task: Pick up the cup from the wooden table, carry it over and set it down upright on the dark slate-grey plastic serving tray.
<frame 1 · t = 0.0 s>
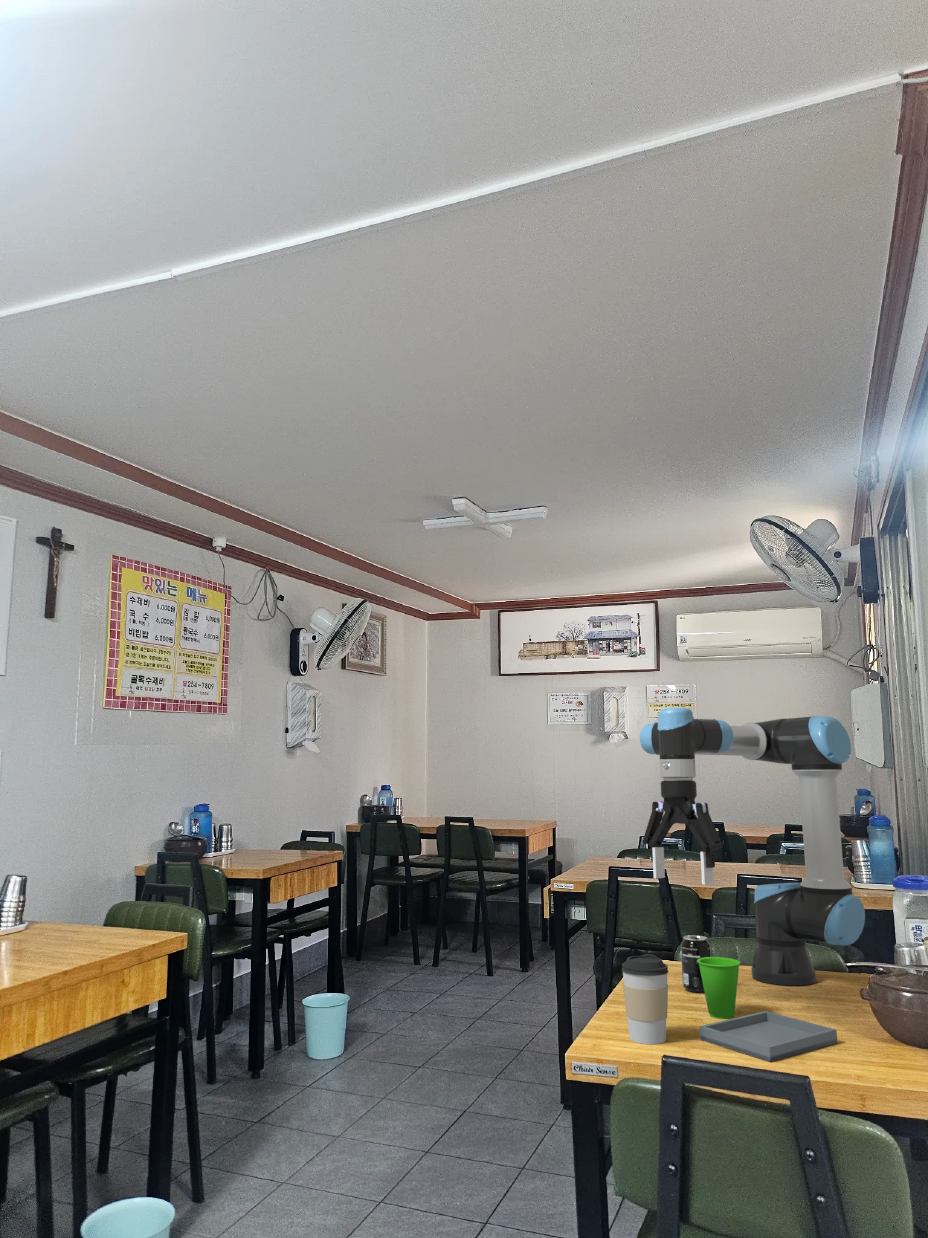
hand: (682, 881, 182), 28 cm above the table, fingers open, 13 cm apart
tray: (768, 1041, 163), on the table
cup: (721, 1017, 181), on the table
beverage can: (697, 991, 203), on the table
coffee cup: (647, 1040, 165), on the table
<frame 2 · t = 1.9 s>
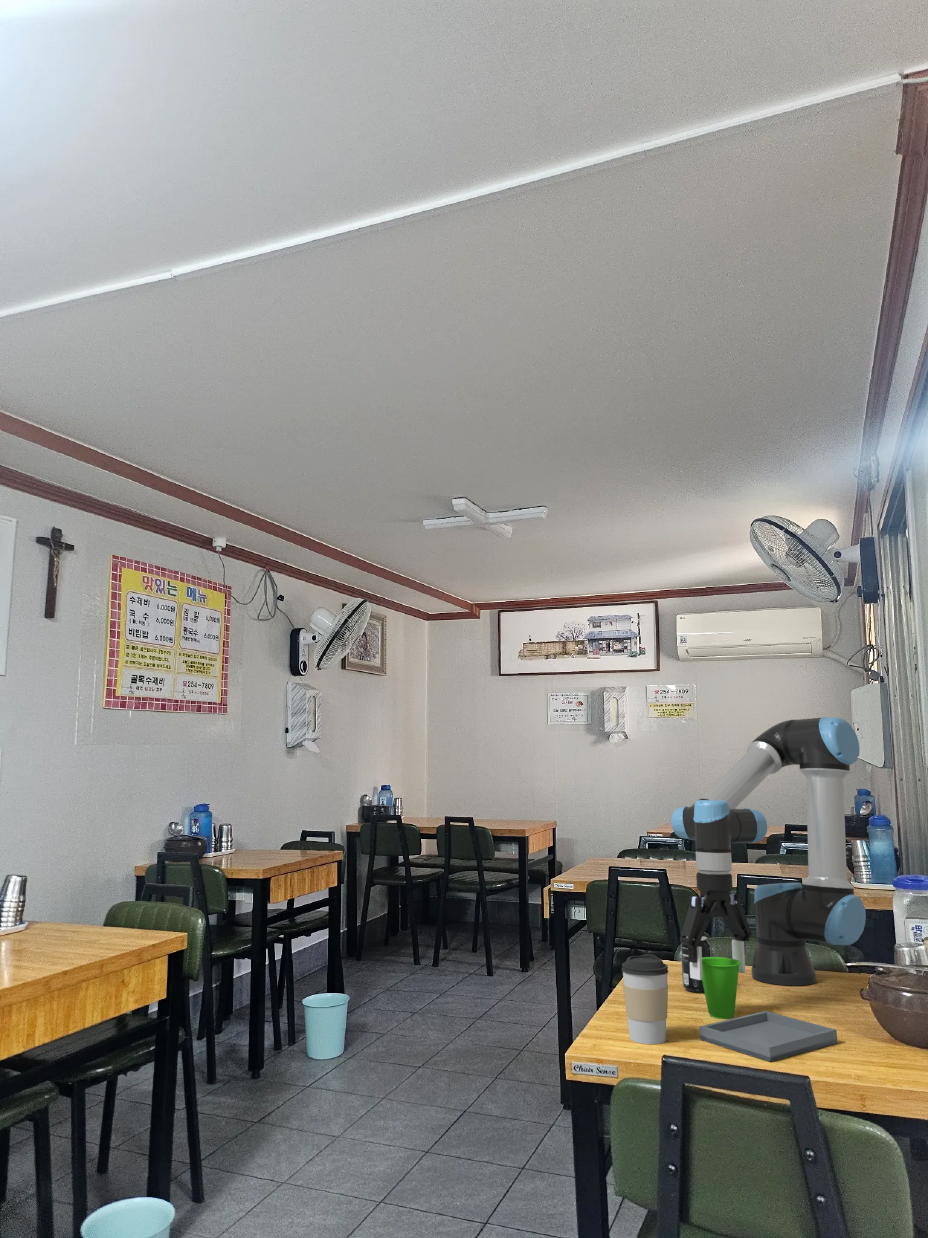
hand: (718, 975, 182), 8 cm above the table, fingers open, 13 cm apart
nothing on the table moved.
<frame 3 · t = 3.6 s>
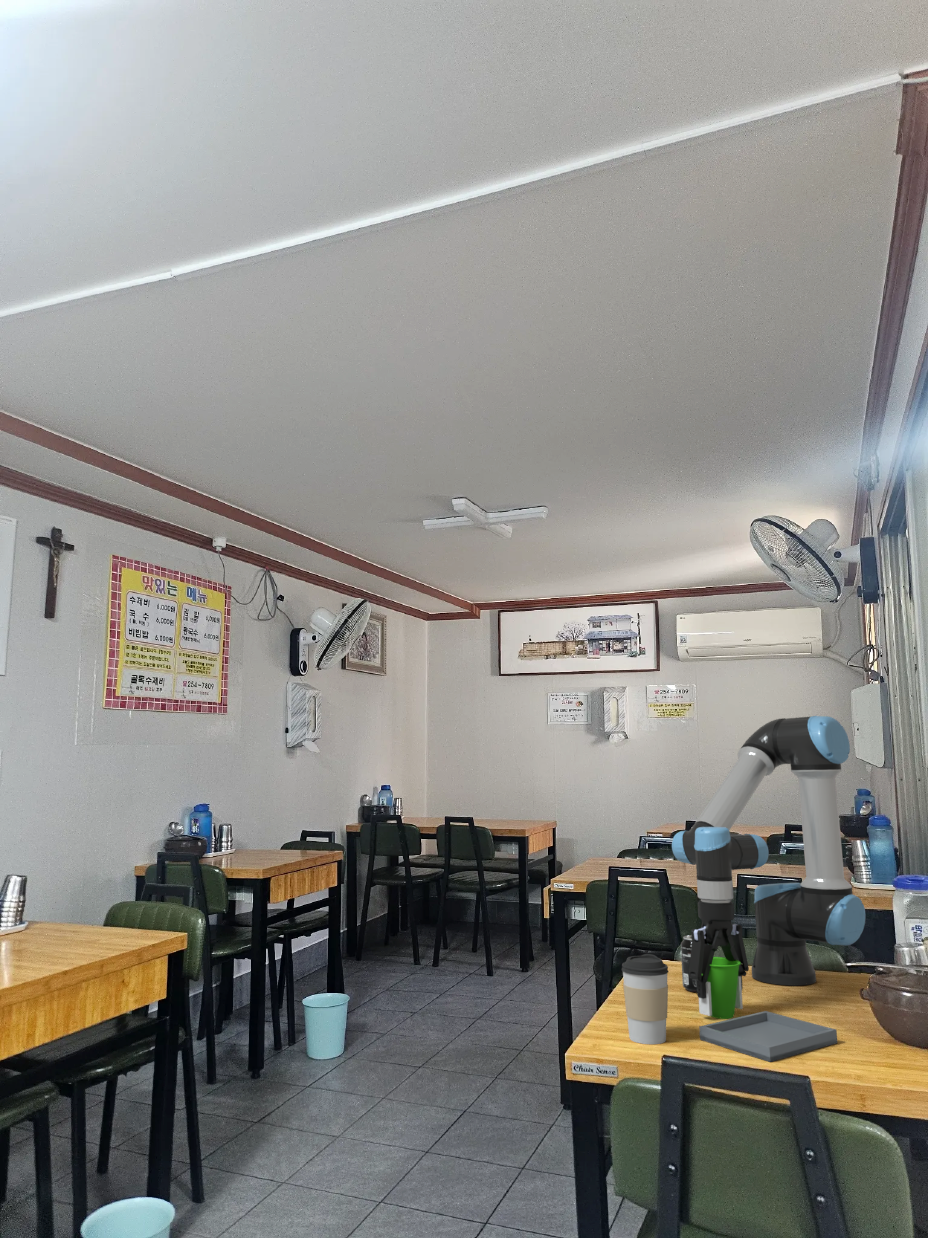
hand: (721, 1011, 181), 1 cm above the table, fingers closed on cup, 9 cm apart
cup: (721, 1017, 181), on the table, touching gripper
everything else where it was.
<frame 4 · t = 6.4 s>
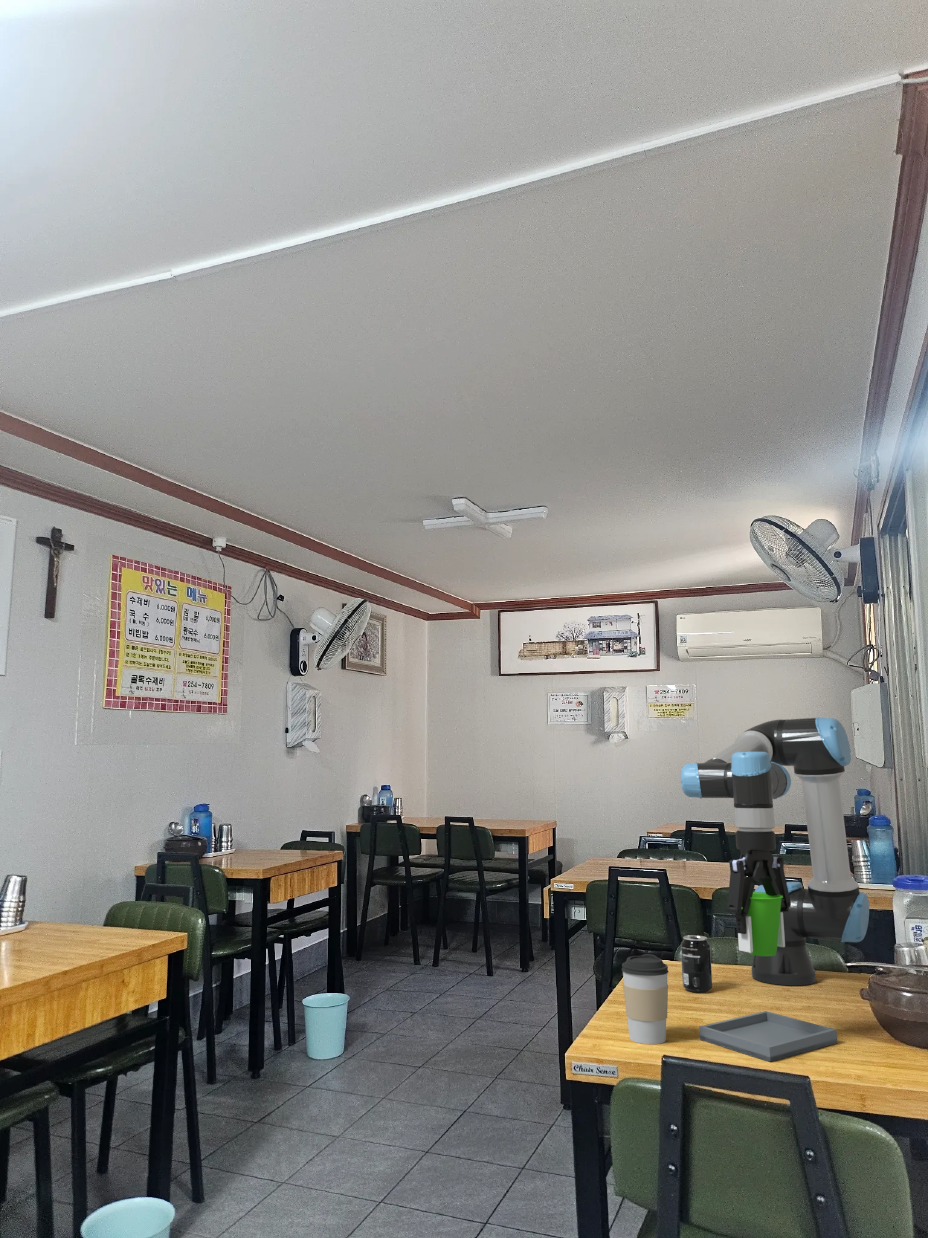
hand: (762, 948, 166), 17 cm above the table, fingers closed on cup, 9 cm apart
cup: (762, 955, 166), point 16 cm above the table, touching gripper
everything else where it was.
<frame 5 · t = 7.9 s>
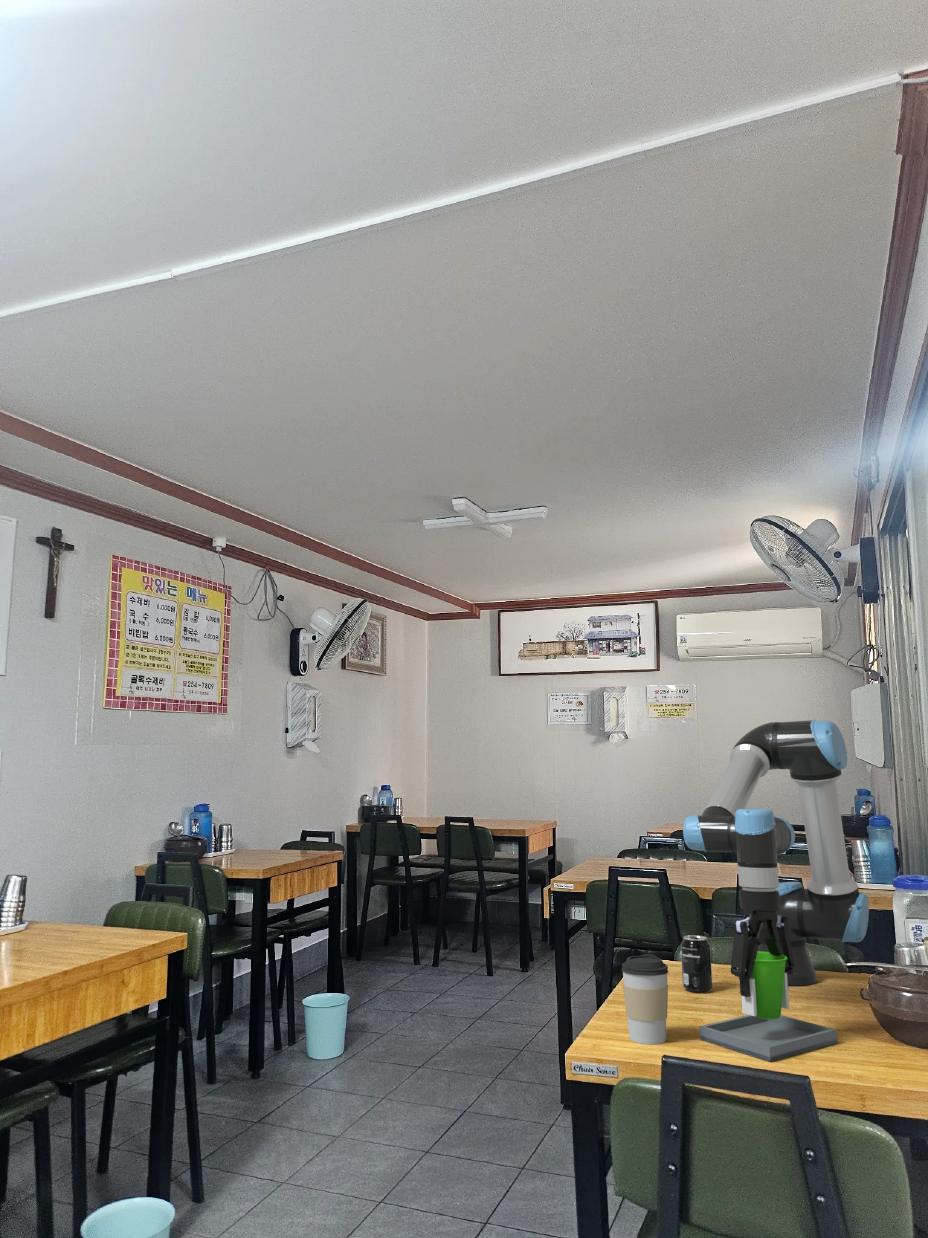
hand: (766, 1010, 164), 6 cm above the table, fingers closed on cup, 9 cm apart
cup: (766, 1017, 164), point 4 cm above the table, touching gripper
everything else where it was.
when the fingers open (3 cm above the table, at t = 9.3 s): cup drops 1 cm, resting on tray.
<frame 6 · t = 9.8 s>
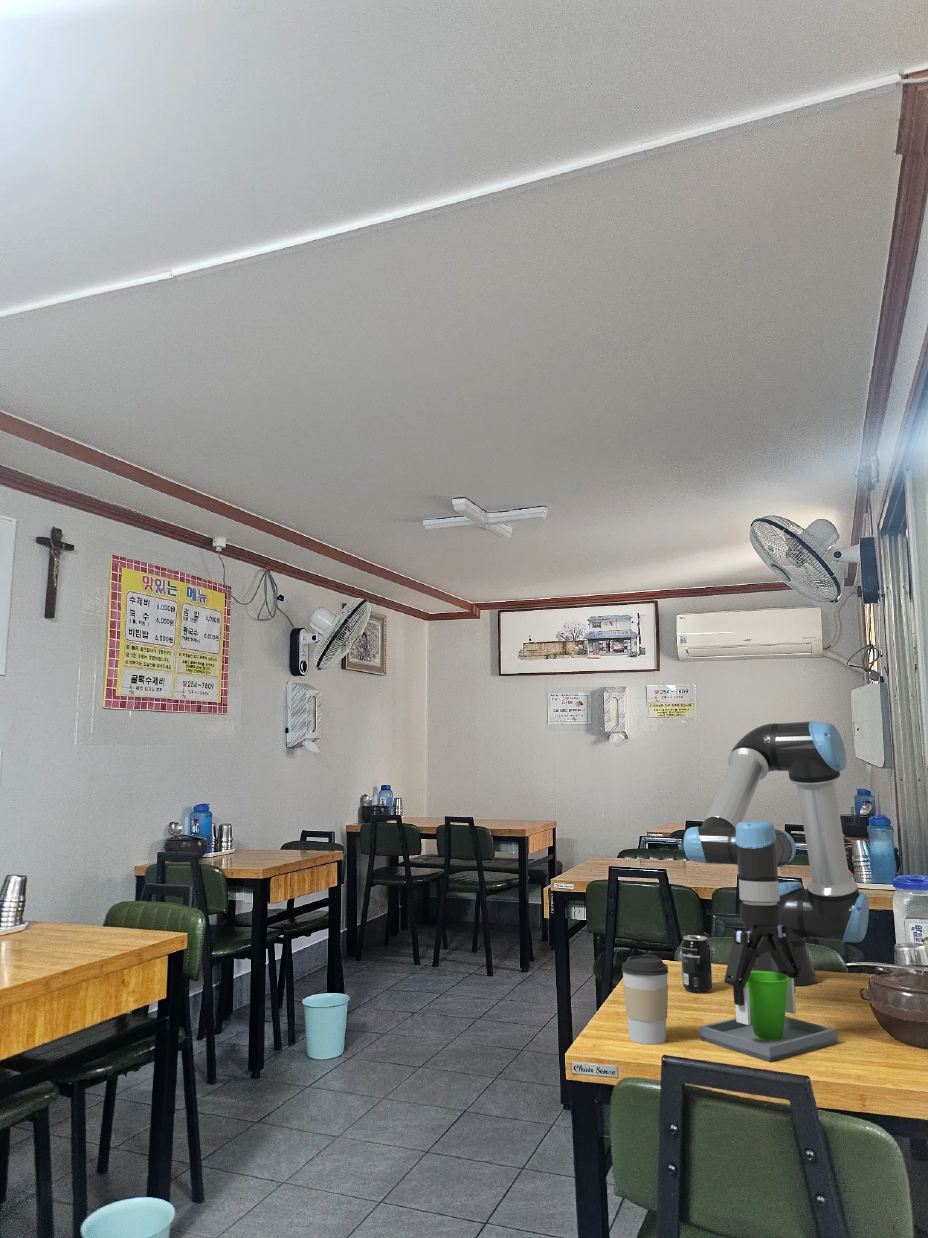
hand: (766, 1018, 164), 4 cm above the table, fingers open, 13 cm apart
cup: (768, 1037, 164), point 1 cm above the table, touching tray
everything else where it was.
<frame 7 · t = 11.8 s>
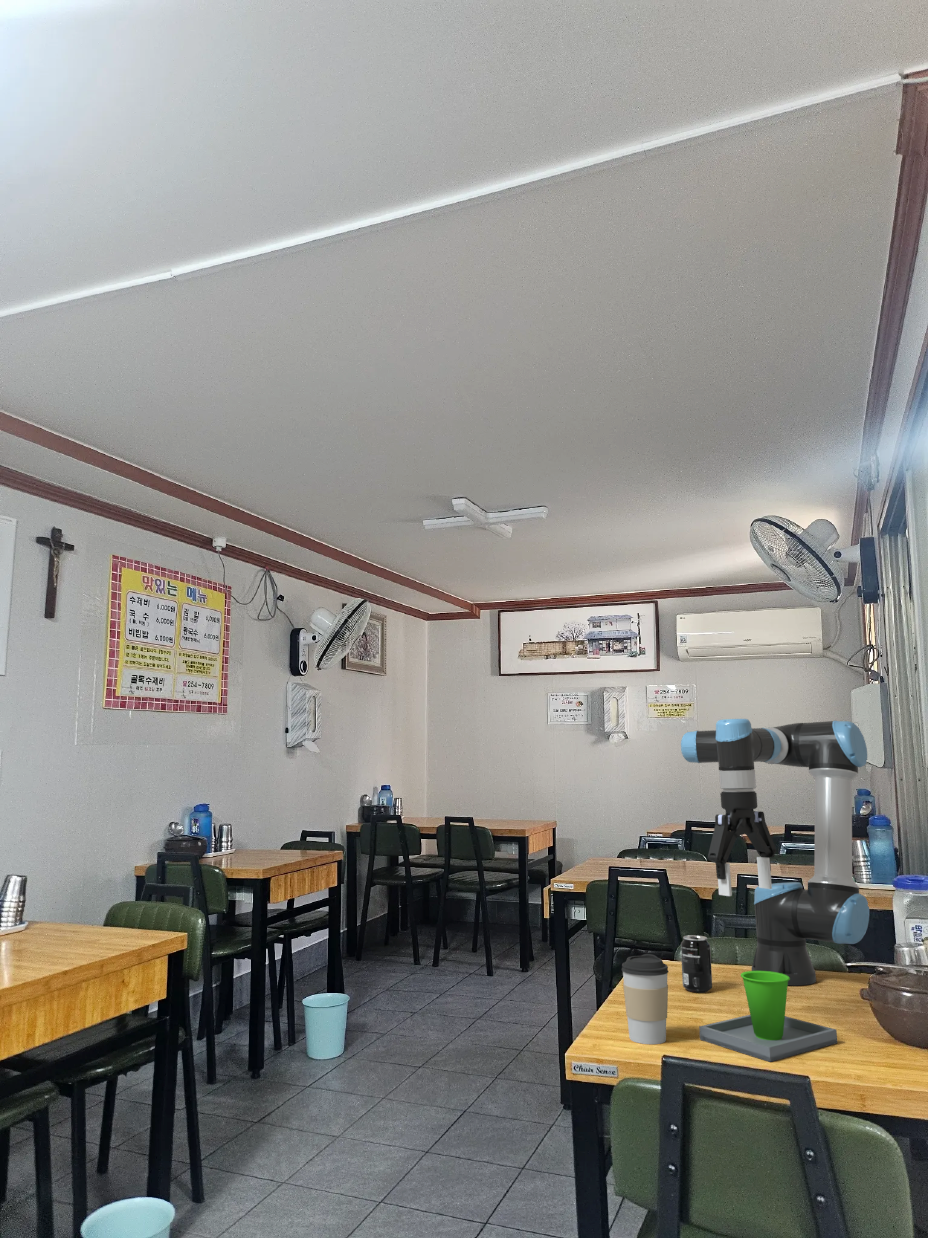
hand: (745, 892, 182), 26 cm above the table, fingers open, 13 cm apart
nothing on the table moved.
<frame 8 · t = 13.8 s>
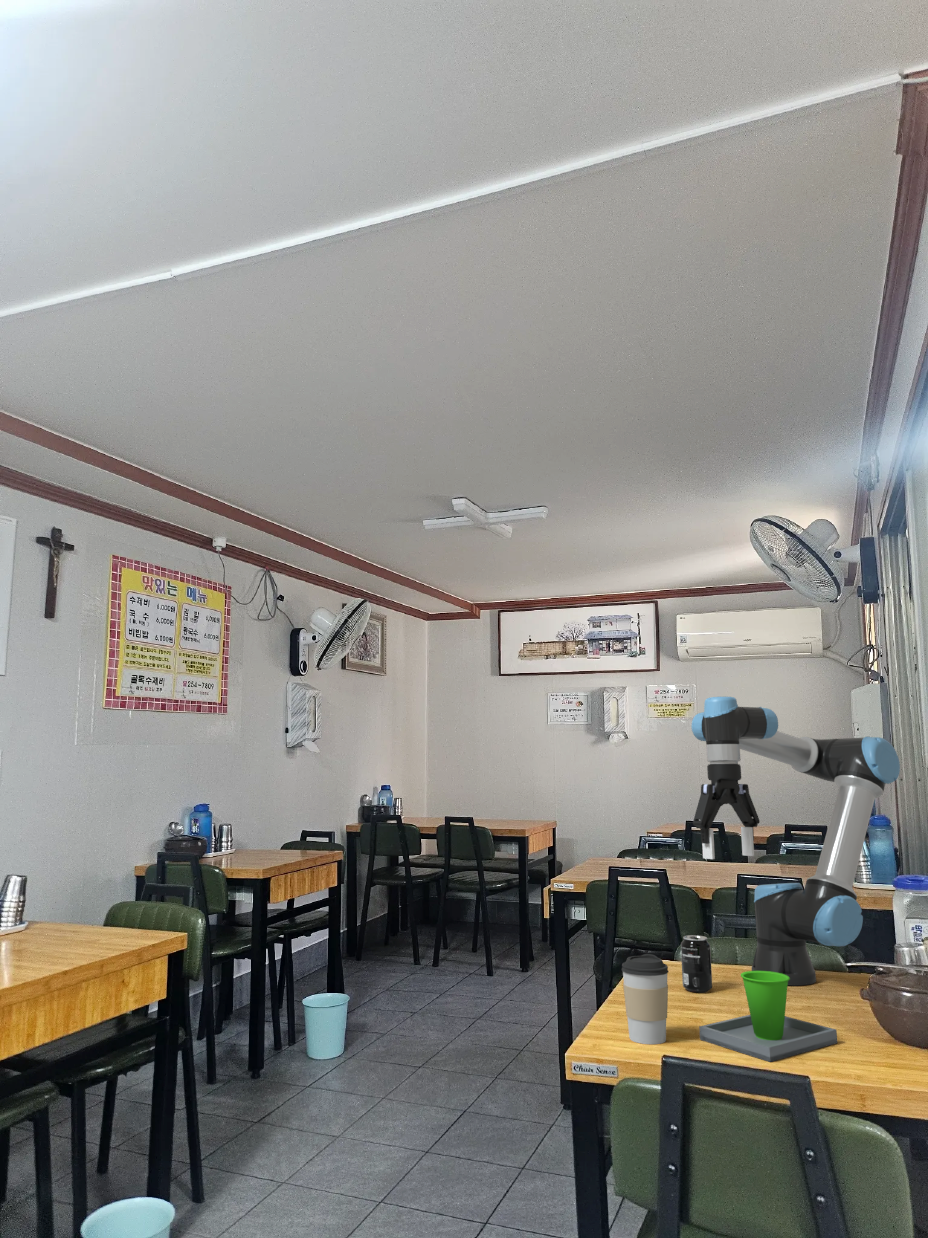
hand: (729, 857, 196), 32 cm above the table, fingers open, 13 cm apart
nothing on the table moved.
at the end: cup inside the target area on the tray (0.3 cm from its centre), point 0.6 cm above the tray's base; cup tilted 0°; the gripper is holding nothing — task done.
